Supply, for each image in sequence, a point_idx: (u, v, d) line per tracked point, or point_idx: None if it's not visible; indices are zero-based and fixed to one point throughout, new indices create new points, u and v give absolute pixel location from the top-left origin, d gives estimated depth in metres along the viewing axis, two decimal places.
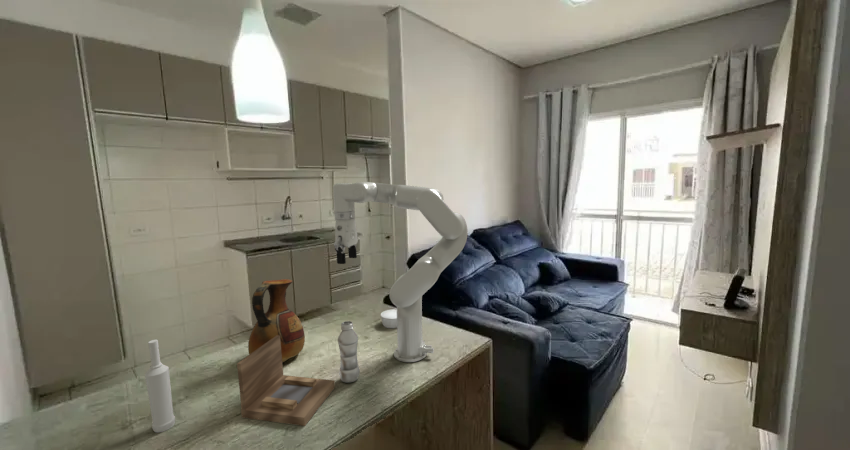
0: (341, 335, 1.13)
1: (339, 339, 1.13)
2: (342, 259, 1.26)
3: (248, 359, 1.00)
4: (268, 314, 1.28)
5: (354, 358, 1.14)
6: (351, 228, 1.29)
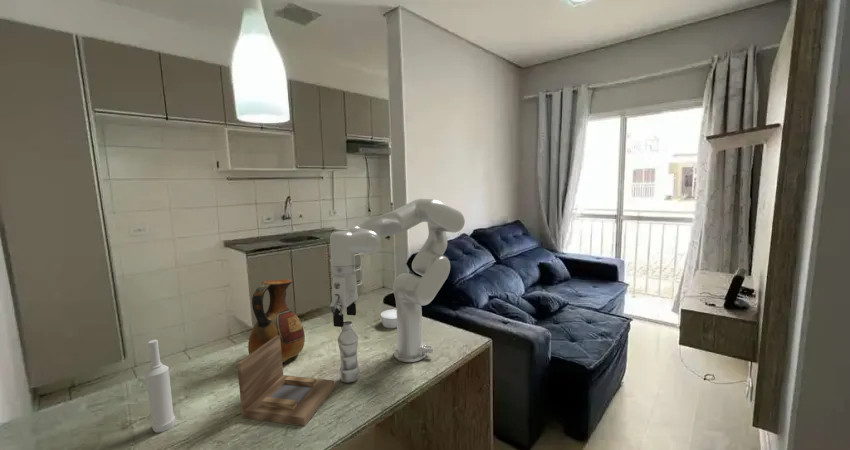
0: (341, 335, 1.13)
1: (339, 339, 1.13)
2: (339, 322, 1.08)
3: (248, 359, 1.00)
4: (268, 314, 1.28)
5: (354, 358, 1.14)
6: (350, 284, 1.11)
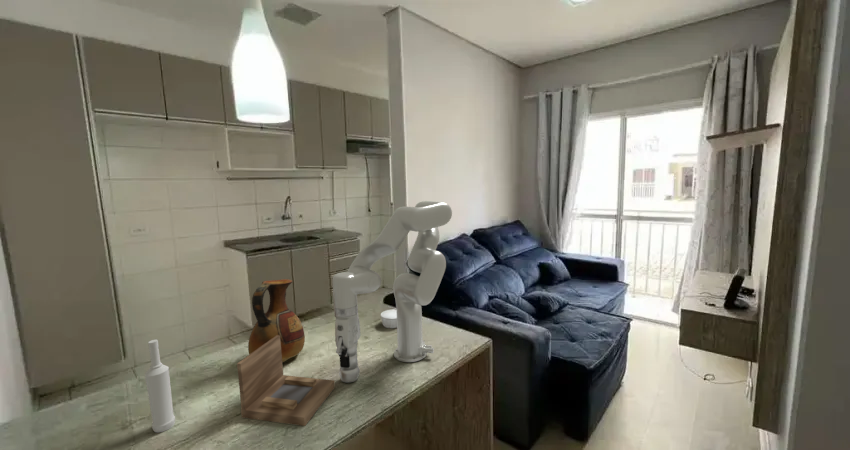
0: None
1: None
2: (346, 363, 1.12)
3: (248, 359, 1.00)
4: (268, 314, 1.28)
5: (354, 358, 1.14)
6: (353, 325, 1.13)
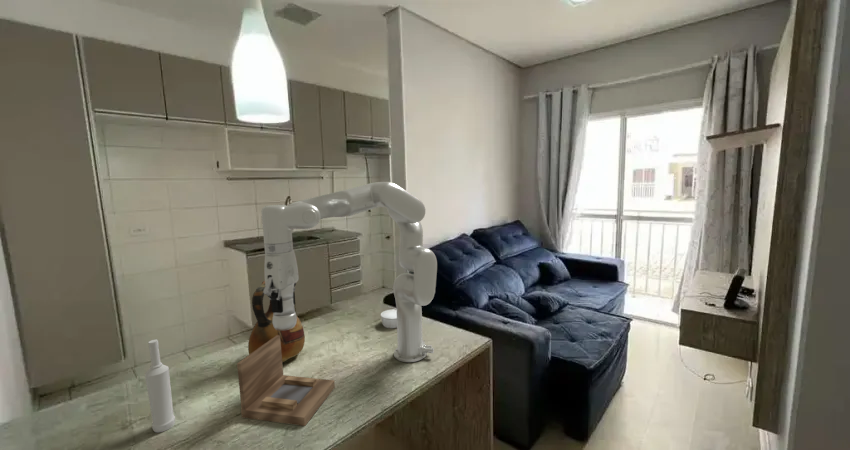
0: None
1: None
2: (278, 307, 0.98)
3: (248, 359, 1.00)
4: (268, 314, 1.28)
5: (288, 303, 1.00)
6: (287, 264, 0.99)
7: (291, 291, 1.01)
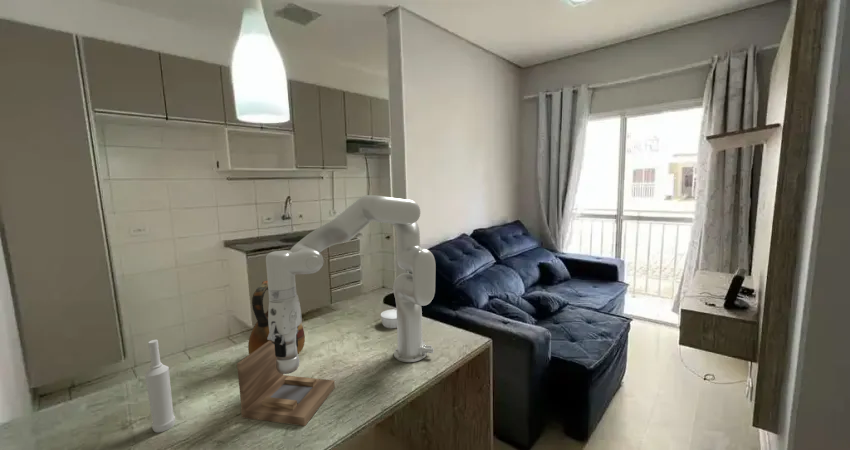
0: None
1: None
2: (281, 352, 0.99)
3: (248, 359, 1.00)
4: None
5: (291, 347, 1.02)
6: (290, 309, 1.00)
7: (294, 335, 1.02)
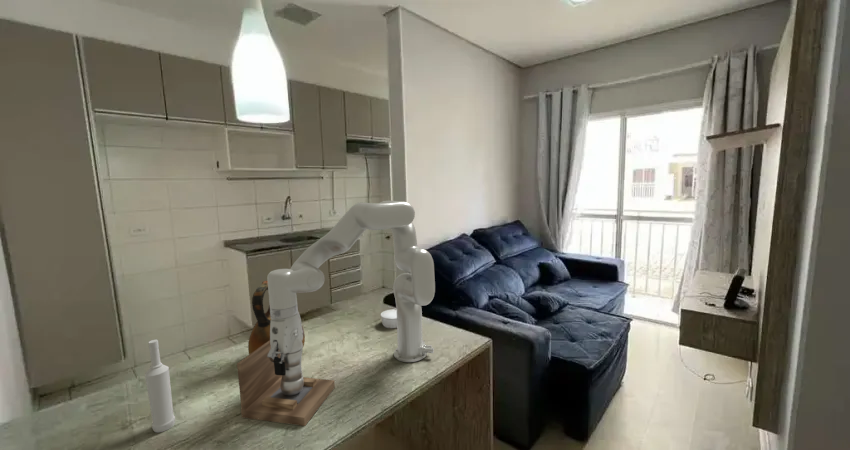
0: None
1: None
2: (281, 370, 0.99)
3: (248, 359, 1.00)
4: (268, 314, 1.28)
5: (297, 368, 1.03)
6: (292, 327, 1.01)
7: (300, 357, 1.04)
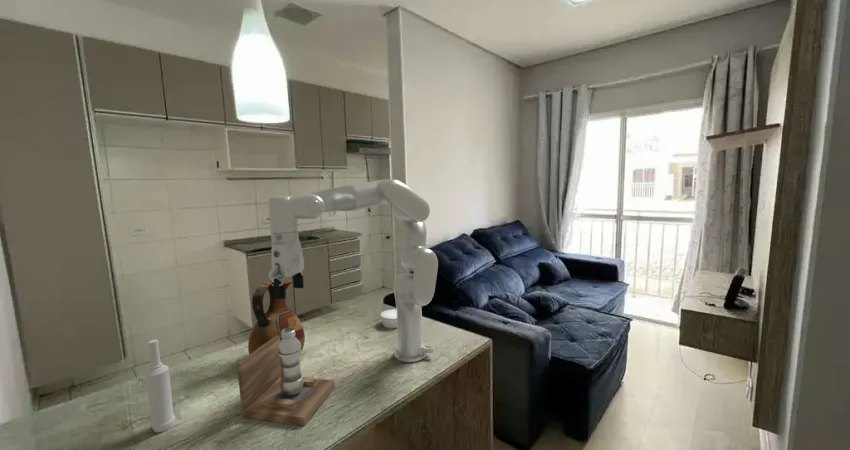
0: (281, 343, 1.02)
1: (278, 348, 1.02)
2: (281, 293, 0.99)
3: (248, 359, 1.00)
4: (268, 314, 1.28)
5: (296, 369, 1.03)
6: (293, 253, 1.02)
7: (298, 357, 1.03)
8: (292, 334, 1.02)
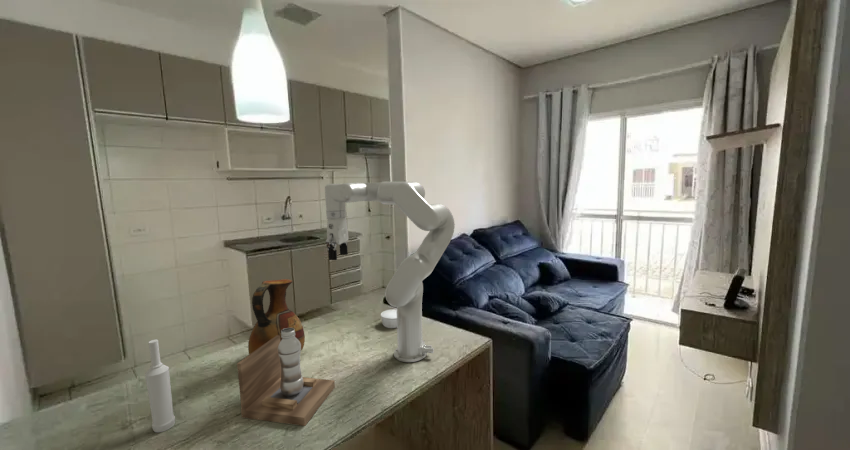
0: (281, 343, 1.02)
1: (278, 348, 1.02)
2: (333, 255, 1.33)
3: (248, 359, 1.00)
4: (268, 314, 1.28)
5: (296, 369, 1.03)
6: (342, 226, 1.36)
7: (298, 357, 1.03)
8: (292, 334, 1.02)
